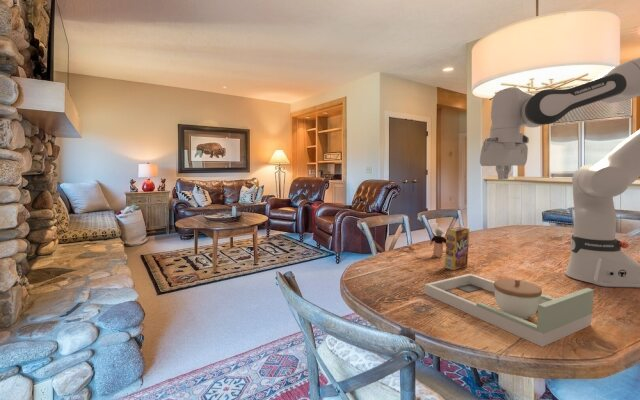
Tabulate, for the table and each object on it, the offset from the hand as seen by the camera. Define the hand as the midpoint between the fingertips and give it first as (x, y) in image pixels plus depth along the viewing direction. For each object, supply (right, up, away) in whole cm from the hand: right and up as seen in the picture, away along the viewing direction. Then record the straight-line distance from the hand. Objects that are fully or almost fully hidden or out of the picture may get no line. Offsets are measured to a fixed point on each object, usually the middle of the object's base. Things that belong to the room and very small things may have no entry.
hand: (502, 179), depth 113 cm
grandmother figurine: (-11, -32, +29) cm, 45 cm away
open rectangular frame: (-9, -34, -30) cm, 46 cm away
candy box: (-10, -33, +15) cm, 38 cm away
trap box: (-14, -37, -20) cm, 44 cm away
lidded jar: (-11, -37, -25) cm, 46 cm away
